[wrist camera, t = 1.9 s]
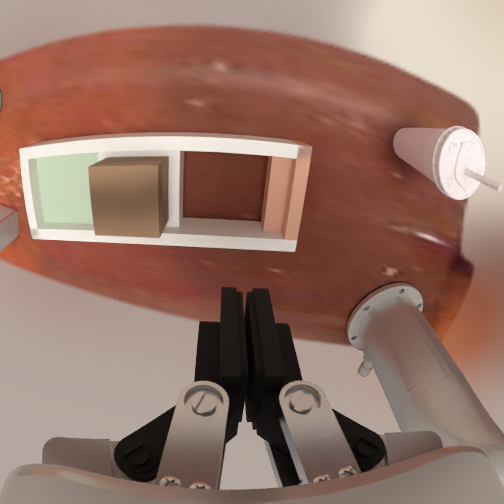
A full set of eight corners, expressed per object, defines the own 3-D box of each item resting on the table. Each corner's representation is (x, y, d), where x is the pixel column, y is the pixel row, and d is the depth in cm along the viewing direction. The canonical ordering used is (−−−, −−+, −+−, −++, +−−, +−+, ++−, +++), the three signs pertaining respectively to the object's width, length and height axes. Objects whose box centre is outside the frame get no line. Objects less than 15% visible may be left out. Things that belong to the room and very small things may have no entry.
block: (168, 219, 26) (159, 238, 22) (110, 217, 25) (95, 235, 22) (168, 156, 23) (158, 165, 20) (107, 157, 22) (88, 166, 19)
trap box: (287, 233, 30) (294, 251, 27) (49, 223, 27) (32, 238, 24) (301, 141, 26) (312, 146, 22) (40, 141, 23) (19, 148, 19)
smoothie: (386, 176, 28) (472, 230, 16) (377, 119, 25) (474, 142, 13) (430, 165, 27) (517, 211, 15) (423, 112, 24) (520, 135, 12)
